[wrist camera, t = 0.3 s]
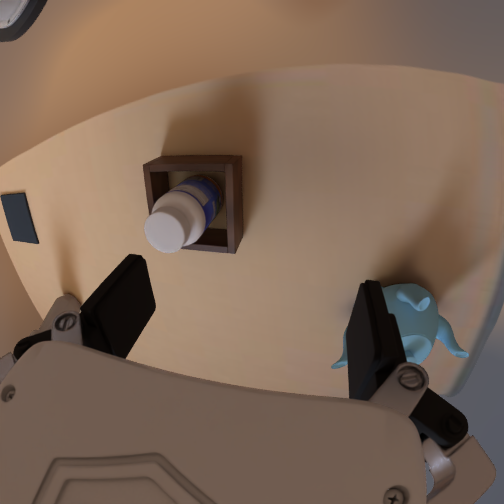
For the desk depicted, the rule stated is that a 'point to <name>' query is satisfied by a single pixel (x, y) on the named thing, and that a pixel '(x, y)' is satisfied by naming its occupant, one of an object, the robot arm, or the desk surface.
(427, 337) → the teapot
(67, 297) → the salt shaker
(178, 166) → the caddy
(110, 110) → the desk surface
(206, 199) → the pill bottle
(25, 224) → the mat
